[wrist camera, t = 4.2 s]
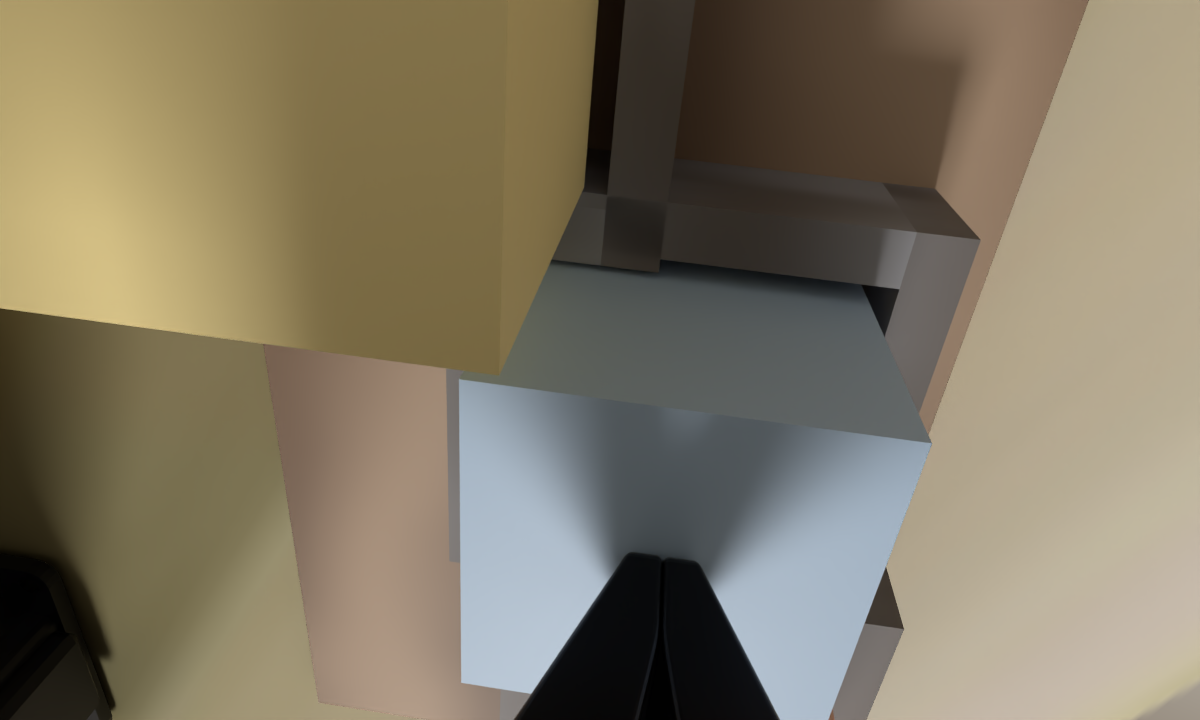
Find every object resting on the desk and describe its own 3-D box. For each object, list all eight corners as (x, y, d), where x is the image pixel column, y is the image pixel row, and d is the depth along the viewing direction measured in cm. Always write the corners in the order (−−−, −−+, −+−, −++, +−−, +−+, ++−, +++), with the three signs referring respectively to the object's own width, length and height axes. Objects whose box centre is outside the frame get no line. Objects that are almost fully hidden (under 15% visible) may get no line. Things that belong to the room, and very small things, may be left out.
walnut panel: (328, 682, 20) (278, 784, 18) (177, -387, 10) (4, -489, 7) (797, 757, 20) (811, 875, 17) (1178, -307, 9) (1351, -391, 7)
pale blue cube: (530, 465, 14) (461, 683, 10) (542, 223, 12) (458, 379, 8) (785, 501, 14) (820, 739, 10) (850, 261, 12) (931, 443, 8)
